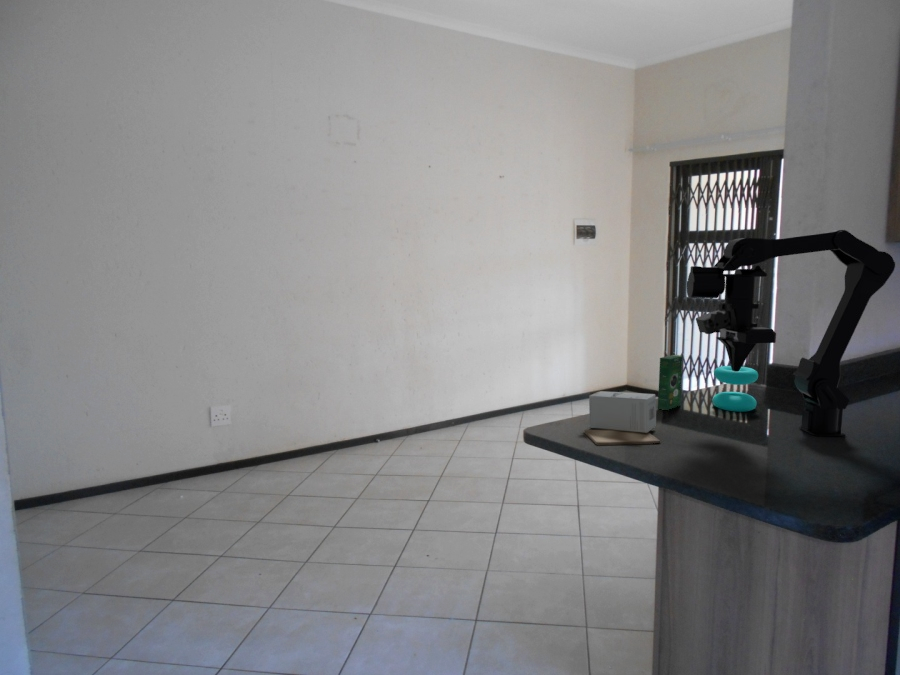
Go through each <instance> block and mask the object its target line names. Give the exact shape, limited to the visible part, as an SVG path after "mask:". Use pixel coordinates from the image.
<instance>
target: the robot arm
mask: <svg viewBox="0 0 900 675" xmlns="http://www.w3.org/2000/svg"><path fill="white" fill-rule="evenodd" d="M825 251H830V252H831V253H832V254H833V256H835V258H836V259H837V260H838V261H839V262H840V263H842V264H843V265H844V266H846V270H845V274H844V291H843V294H842V295H841V298H840V300H839V302H838V304H837V307H836V308H835V311H834V312H833V313H834V314H833V315H832V317H831V320H830V322H829V324H828V326H827V328H826V331H825V332H824V334H823V336H822V339H821V341H820V342H819V345H818V347H817V350H816V352H814V354H813V355H811V356H810V358H805V357H801V359H800V360H799V363H798V367H797V369H796V370H795V371H794V372H793V373H792V374H793V375H794V380H793V381H794V385H795V387H796V389H797V390H798V391H799V392H800V393H801V394H802V398H803V400H804V401H806V402H804V409H802V412H801V425H799V426H798V428H799V429H800V430H802V431H803V432H807V433H808V434H810V435H812V436H813V437H846V436H847V433H845V432H843V431H842V427H843V425H842V424H843V414H844V413H843V412H844V410H845V409H846V408H847V406H848V404H849V402H850V399H849V398H848V397H847V396H846V395H845V394H844V393H843V392H842V391H841V390H840V389H839V387H838V386H839V383H840V380H841V361H842V358H843V356H844V354H845V352H846V350H847V348H848V346H849V344H850V341H851V340H852V338H853V335H854V333H855V331H856V328H857V326H858V325H859V322H860V321H861V318H862V316H863V314H864V312H865V310H866V308H867V306H868V303H869V302H870V299H871V298H872V297H873V296H874V295H875V294H876V293H877V292H879V290H880V289H881V288H882V287H883V286H884V285H886V283H887V281H888V280H889V279H890V277H891V276H892V274H893V273H894V271H895V268H896V262H895V260H894V258H893V256H892V255H891V254H889V253H888V252H886V251H883V250H882V251H881V250H878V249H877V248H876V247H874V246H872V245H871V244H869V243H867V242H865V241H863V240H862V239H860V238H858V237H857V236H855V235H853V234H852V233H851V232H850V231H848V230H846V229H836V230H834V229H833V230H830V231H828V232H822V233H814V234H806V235H798V236H791V237H783V238H774V239H773V238H759V237H757V238H756V237H755V238H754V237H743V238H735V239H732V240H730V241H729V242H728V243H726V245H725V247H724V250H723V255H722V256H721V257H720V258H719V260H718V261H717V262H716V263H715V264H714V266H699V265H698V266H697V265H695V266H694V265H692V266H690V271H689V273H688V276H687V277H688V278H687V281H686V294H687V297H688V298H689V299H718V298H719V296H720V295H722V294H724V301H723V302H722V301H721V302H720V303H719V305H718V310H714V311H711V312H709V313H704V314H703V315H700V316H698V317H696V318H695V321H696V325H697V328H698V330H699V333H704V334H706V335H712V334H714V333H719V336H716V337H715V338H716V340H718V341H719V342H720V343H722V344H723V345H724V347H725V350H726V353H727V356H728V360H729V363H730V366H731V368H732V371H739V370H740V368H741V367H743V365H744V363H745V362H746V360H747V358H748V357H749V355H750V354H751V352H752V351H753V350H754V348H755V347H756V345H757V344H776V341H777V340H776V339H777V332H775V331H774V329H772V328H770V327H769V328H768V327H764V326H758V323H756V322H754V313H755V310H759V303H755V297H756V295H755V294H756V277H757V278H761V277H762V278H766V277H767V276H768V274H767V272H765V271H764V270H763V269H762V267H761V265H757V264H760V263H763V262H767V261H769V260H772V259H774V258H779V257H784V256H785V257H786V256H793V255H800V254H801V255H802V254H808V253H816V252H825ZM749 266H752V267H751V268H741V267H749ZM733 271H734V273H725V272H733Z"/></svg>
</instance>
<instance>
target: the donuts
mask: <svg viewBox="0 0 900 675" xmlns="http://www.w3.org/2000/svg"><path fill="white" fill-rule="evenodd" d="M713 376H714V378H715V379H716V380H717V381H719V382H721V383H723V384H728V385H737V386H739V385H740V386H741V385H742V386H744V385H745V386H746V385H750V384H753V383H755V382H757V380H758V378H759V372H758V371H757V370H756V369H754V368H751V367H747V366H742V367H741V368H740V370H739V371H732V368H731V365H722V366H718V367H716V368H715V369H714V370H713ZM712 404H713V405H714V407H716V408H717V409H720V410H723V411H730V412H738V413H739V412H741V413H742V412H750V411H753V410H754V409H756V407H757V404H758V403H757V400H756V399H755V397H753V396H752V395H750V394H748V393H745V392H739V391H722V392H719V393H717V394H715V395H714V396H713V397H712Z"/></svg>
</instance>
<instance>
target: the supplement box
mask: <svg viewBox="0 0 900 675" xmlns="http://www.w3.org/2000/svg"><path fill="white" fill-rule="evenodd" d="M588 399H589V400H588V401H589V402H588V404H589V405H588V406H589V407H588V409H589V411H588V413H589V428H591V429H598V430H609V429H610V430H621V431H632V432H643V433H647V432H649V433H650V432H651V431H652V430H653V429H654V428H656V426H657V402H656V400H657V399H656V394H655V393H638V392H626V391H625V392H622V391H619V392H618V391H601V390H600V391H597V392H594V393H593V394H590V395H589V397H588Z"/></svg>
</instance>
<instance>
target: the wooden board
mask: <svg viewBox="0 0 900 675" xmlns="http://www.w3.org/2000/svg"><path fill="white" fill-rule="evenodd" d="M583 433H584V434H585V435H586V437H588V438H589V439H590V440H591V441H592V442H593V443H594V444H595V445H596V446H610V445H611V446H612V445H614V446H615V445H619V446H620V445H621V446H623V445H651V444H653V443H654V444H655V443H660V444H661V440H660V439H658V438H657V437H655V436H654V435H653V434H651V433H650V431H649V432H647V433H643V432H632V431H621V430H610V429H585V430H584V432H583ZM654 444H653V445H654Z"/></svg>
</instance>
